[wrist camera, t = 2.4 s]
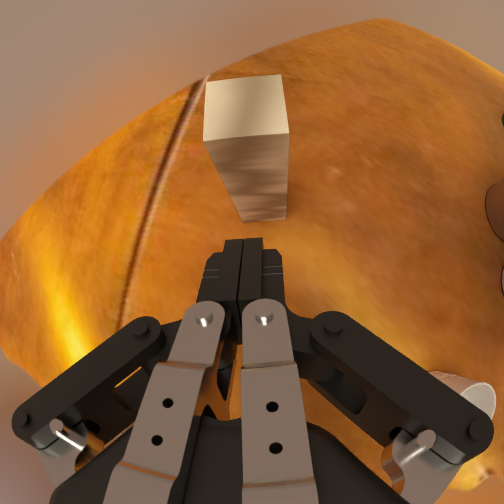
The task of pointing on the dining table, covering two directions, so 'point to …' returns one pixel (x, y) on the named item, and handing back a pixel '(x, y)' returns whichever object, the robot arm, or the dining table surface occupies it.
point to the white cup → (470, 390)
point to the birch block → (250, 143)
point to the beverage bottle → (503, 280)
